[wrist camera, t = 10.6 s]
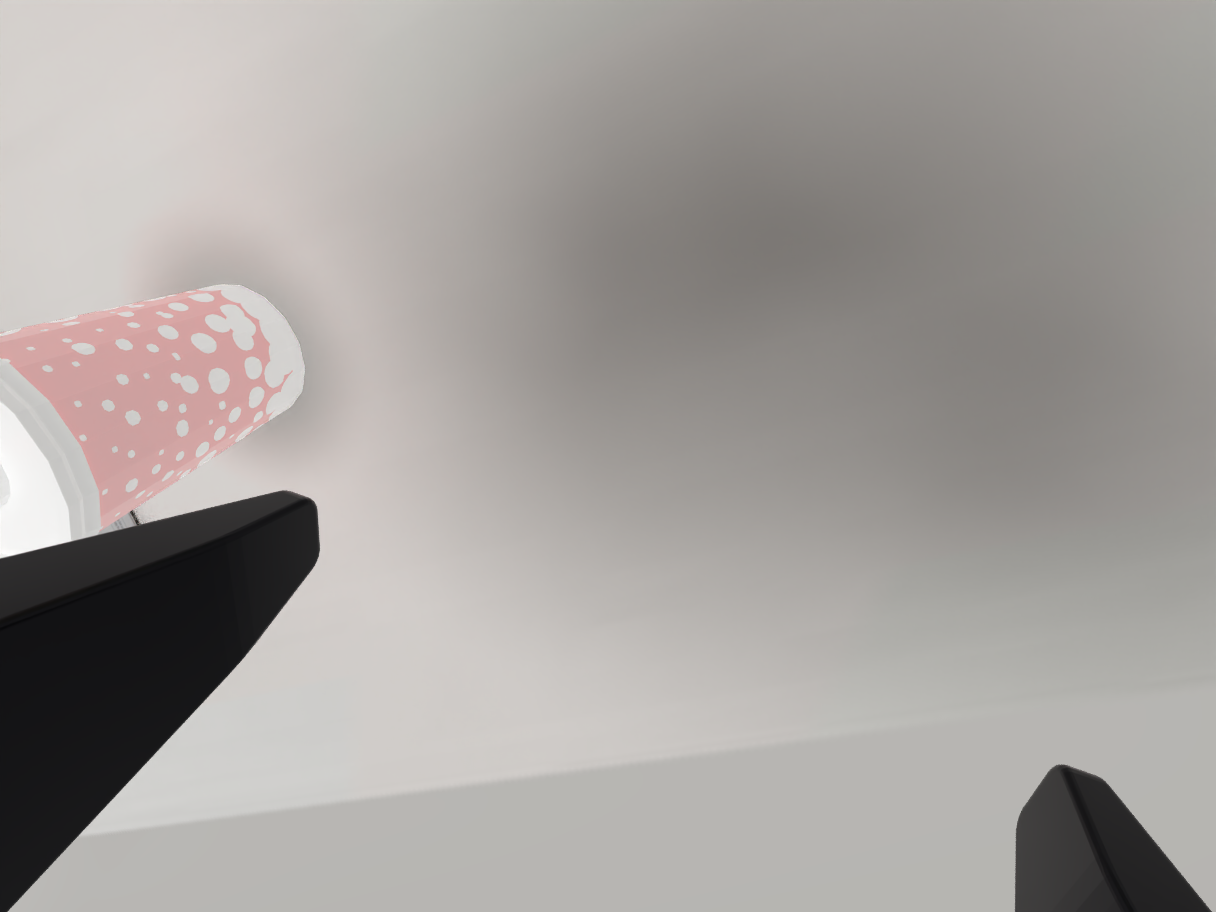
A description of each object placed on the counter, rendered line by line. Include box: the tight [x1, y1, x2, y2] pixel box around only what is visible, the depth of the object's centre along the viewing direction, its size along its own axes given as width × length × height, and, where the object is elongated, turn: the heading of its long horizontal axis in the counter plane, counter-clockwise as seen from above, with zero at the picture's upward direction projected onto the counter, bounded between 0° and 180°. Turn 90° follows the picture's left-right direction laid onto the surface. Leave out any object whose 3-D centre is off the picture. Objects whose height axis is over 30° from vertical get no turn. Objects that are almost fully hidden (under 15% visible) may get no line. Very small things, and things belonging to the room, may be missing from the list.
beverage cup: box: [0, 284, 305, 558], centre depth 19 cm, size 6×6×14 cm
